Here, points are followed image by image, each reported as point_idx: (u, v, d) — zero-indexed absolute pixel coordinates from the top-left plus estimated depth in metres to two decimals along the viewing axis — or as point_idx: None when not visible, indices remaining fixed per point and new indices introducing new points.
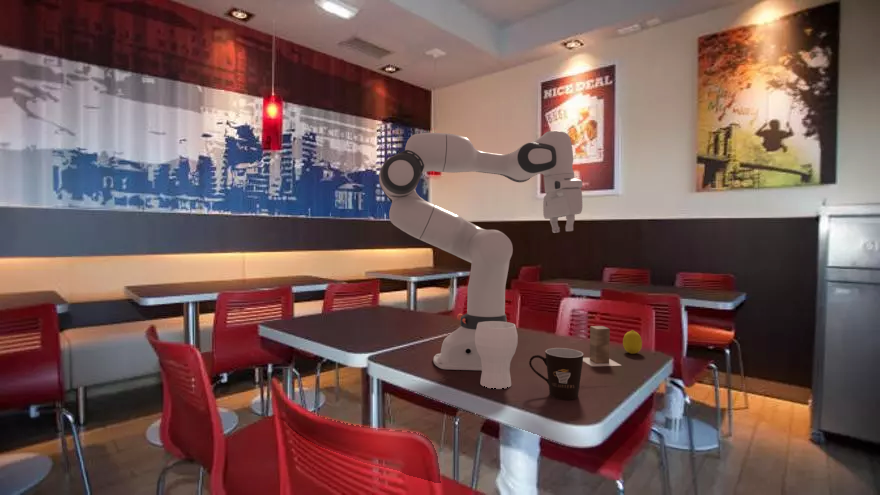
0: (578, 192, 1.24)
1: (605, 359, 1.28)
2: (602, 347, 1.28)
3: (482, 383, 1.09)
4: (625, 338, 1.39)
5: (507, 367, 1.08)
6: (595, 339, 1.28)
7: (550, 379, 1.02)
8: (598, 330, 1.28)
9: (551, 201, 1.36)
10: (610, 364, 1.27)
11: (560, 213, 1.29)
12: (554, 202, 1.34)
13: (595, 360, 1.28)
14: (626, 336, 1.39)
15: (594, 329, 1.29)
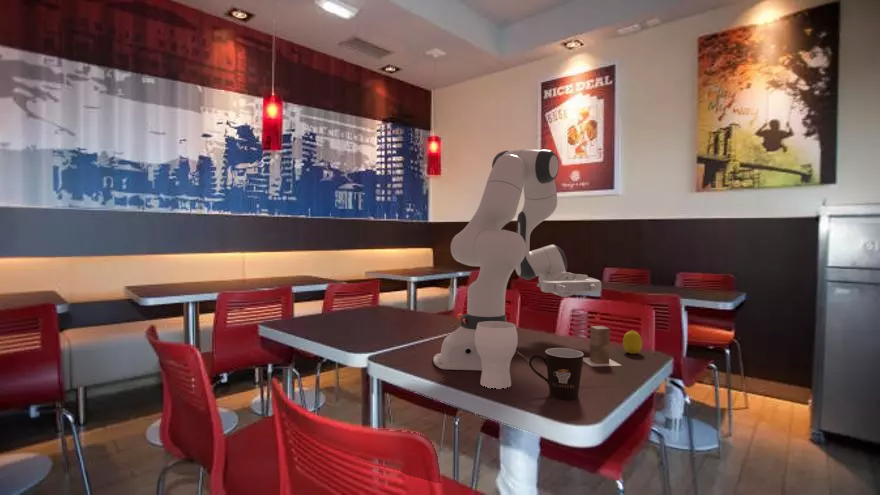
0: None
1: (605, 359, 1.28)
2: (602, 347, 1.28)
3: (482, 383, 1.09)
4: (625, 338, 1.39)
5: (507, 367, 1.08)
6: (595, 339, 1.28)
7: (550, 379, 1.02)
8: (598, 330, 1.28)
9: (559, 281, 1.52)
10: (610, 364, 1.27)
11: (582, 281, 1.49)
12: (565, 281, 1.52)
13: (595, 360, 1.28)
14: (626, 336, 1.39)
15: (594, 329, 1.29)
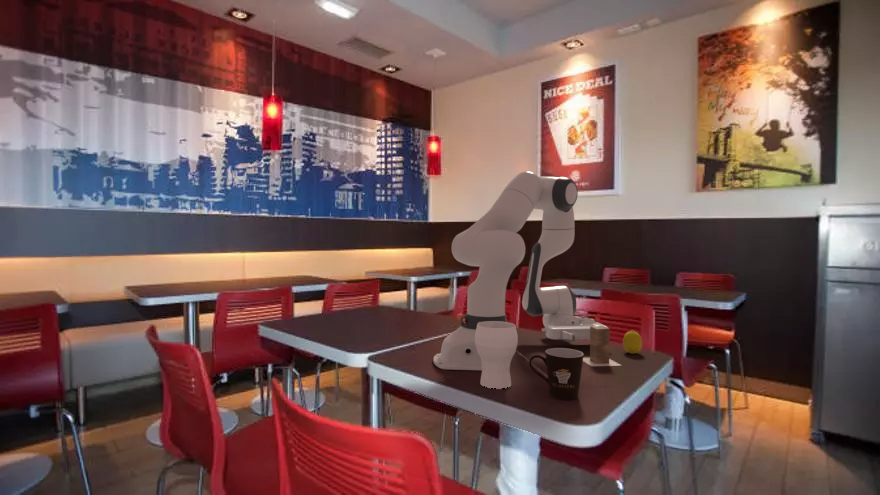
0: None
1: (605, 359, 1.28)
2: (602, 347, 1.28)
3: (482, 383, 1.09)
4: (625, 338, 1.39)
5: (507, 367, 1.08)
6: (595, 339, 1.28)
7: (550, 379, 1.02)
8: (598, 330, 1.28)
9: (564, 326, 1.46)
10: (610, 364, 1.27)
11: (589, 327, 1.43)
12: (571, 326, 1.46)
13: (595, 360, 1.28)
14: (626, 336, 1.39)
15: (594, 329, 1.29)
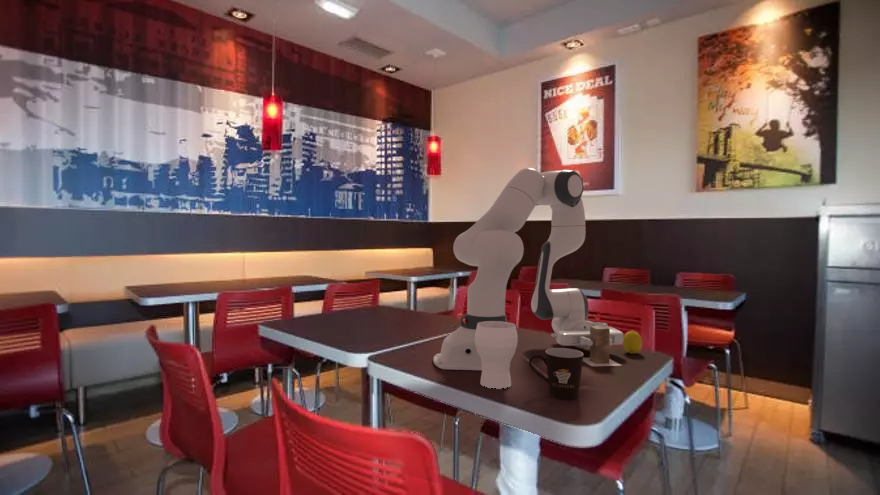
0: None
1: (605, 359, 1.28)
2: (602, 347, 1.28)
3: (482, 383, 1.09)
4: (625, 338, 1.39)
5: (507, 367, 1.08)
6: (595, 339, 1.28)
7: (550, 379, 1.02)
8: (598, 330, 1.28)
9: (576, 331, 1.38)
10: (610, 364, 1.27)
11: None
12: (583, 331, 1.38)
13: (595, 360, 1.28)
14: (626, 336, 1.39)
15: (594, 329, 1.29)
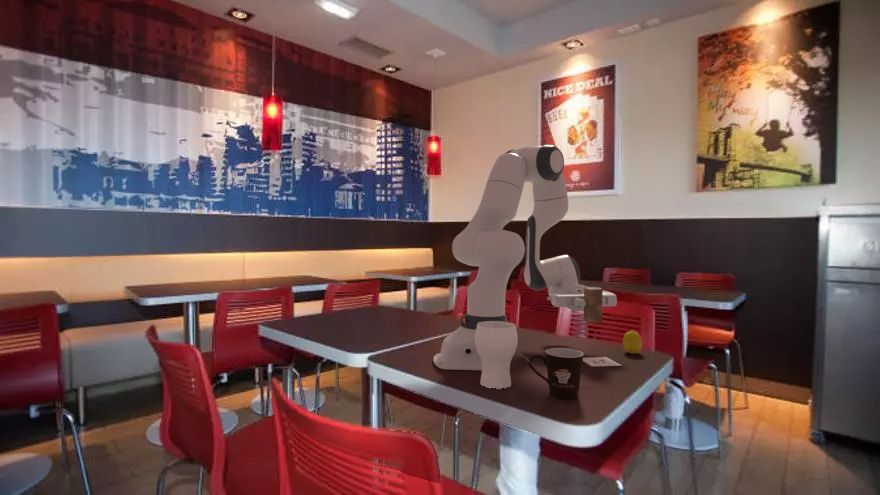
0: None
1: (598, 319, 1.32)
2: (595, 307, 1.32)
3: (482, 383, 1.09)
4: (625, 338, 1.39)
5: (507, 367, 1.08)
6: (589, 299, 1.32)
7: (550, 379, 1.02)
8: (591, 290, 1.32)
9: (571, 294, 1.43)
10: (610, 364, 1.27)
11: None
12: (578, 294, 1.42)
13: (588, 319, 1.33)
14: (626, 336, 1.39)
15: (587, 290, 1.33)
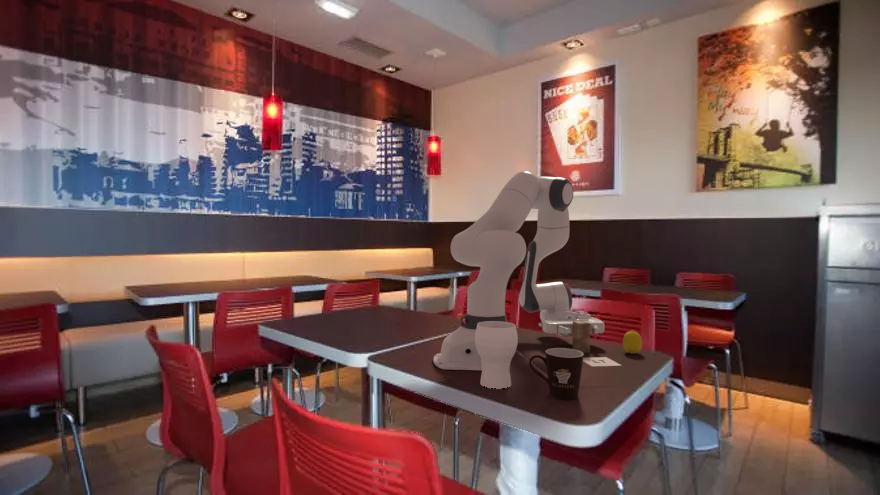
0: None
1: (585, 351, 1.40)
2: (583, 340, 1.40)
3: (482, 383, 1.09)
4: (625, 338, 1.39)
5: (507, 367, 1.08)
6: (577, 333, 1.40)
7: (550, 379, 1.02)
8: (579, 324, 1.39)
9: (561, 321, 1.50)
10: (610, 364, 1.27)
11: None
12: (568, 321, 1.50)
13: None
14: (626, 336, 1.39)
15: (576, 323, 1.41)
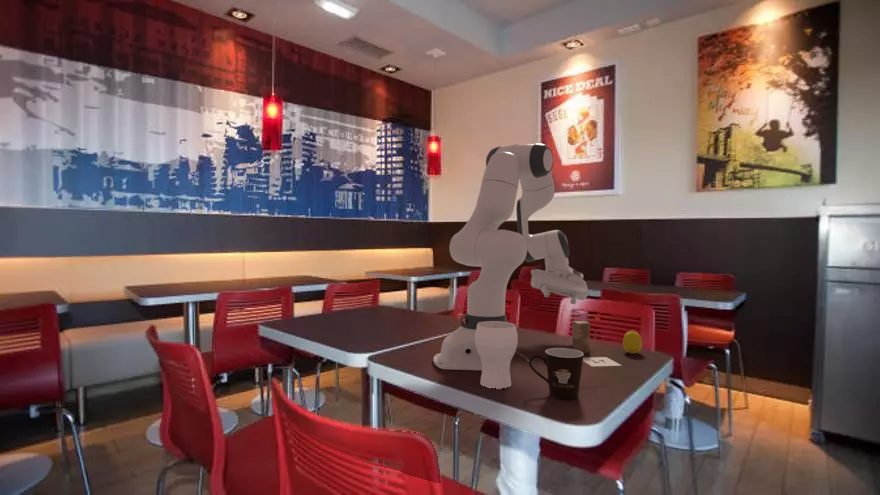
0: None
1: (585, 351, 1.40)
2: (583, 340, 1.40)
3: (482, 383, 1.09)
4: (625, 338, 1.39)
5: (507, 367, 1.08)
6: (577, 333, 1.40)
7: (550, 379, 1.02)
8: (579, 324, 1.39)
9: (551, 276, 1.60)
10: (610, 364, 1.27)
11: (570, 288, 1.56)
12: (557, 279, 1.59)
13: None
14: (626, 336, 1.39)
15: (576, 323, 1.41)
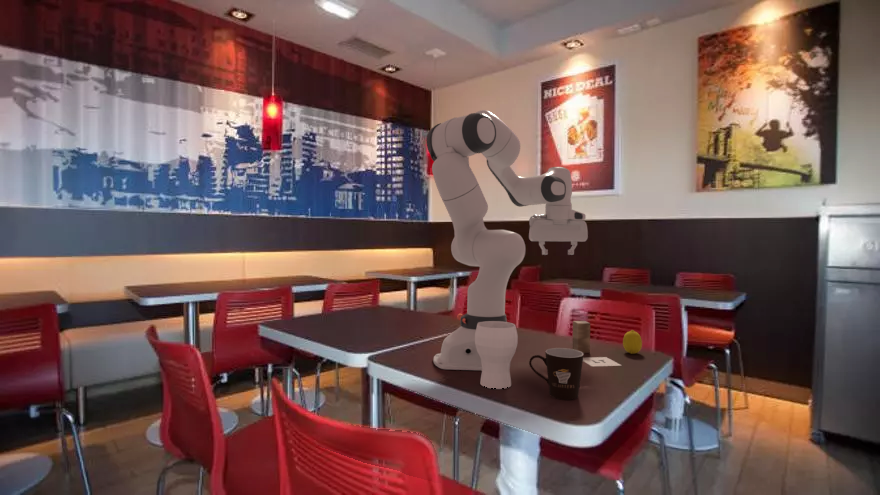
0: None
1: (585, 351, 1.40)
2: (583, 340, 1.40)
3: (482, 383, 1.09)
4: (625, 338, 1.39)
5: (507, 367, 1.08)
6: (577, 333, 1.40)
7: (550, 379, 1.02)
8: (579, 324, 1.39)
9: (550, 226, 1.52)
10: (610, 364, 1.27)
11: (569, 239, 1.52)
12: (557, 228, 1.52)
13: None
14: (626, 336, 1.39)
15: (576, 323, 1.41)
